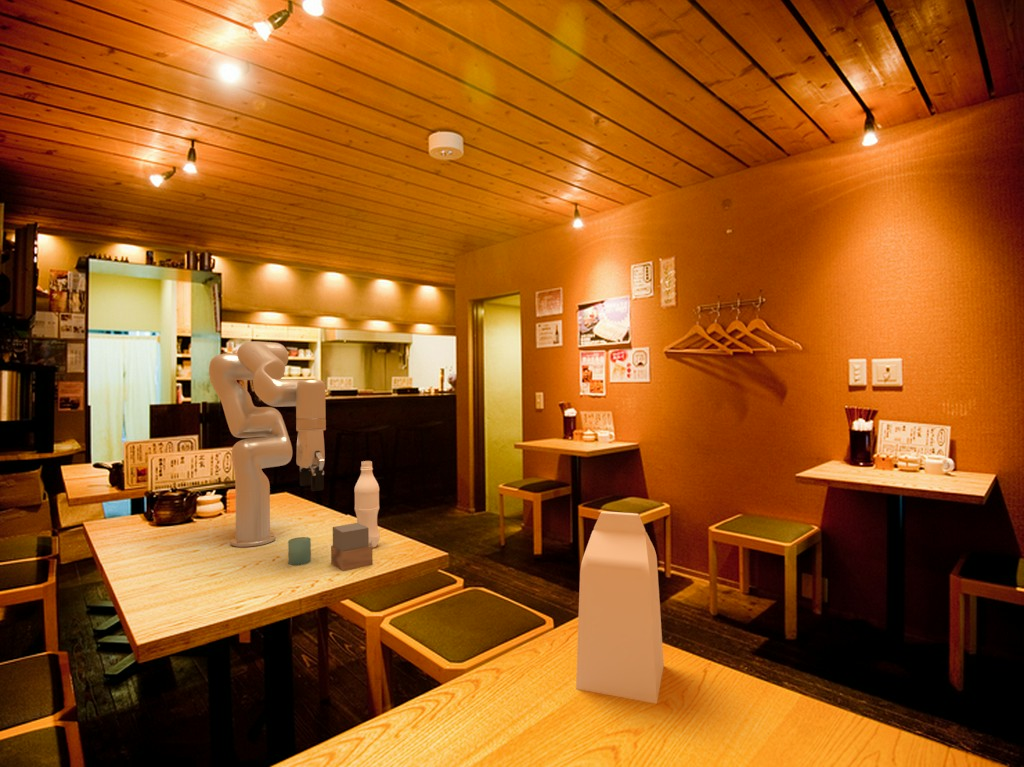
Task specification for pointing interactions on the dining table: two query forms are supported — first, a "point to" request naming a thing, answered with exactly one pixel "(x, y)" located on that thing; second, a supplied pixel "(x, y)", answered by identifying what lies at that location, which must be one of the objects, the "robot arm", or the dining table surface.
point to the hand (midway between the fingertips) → (311, 487)
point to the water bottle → (367, 502)
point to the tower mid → (350, 537)
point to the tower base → (351, 558)
